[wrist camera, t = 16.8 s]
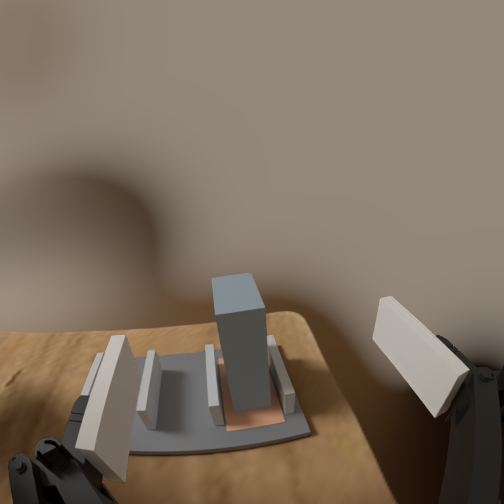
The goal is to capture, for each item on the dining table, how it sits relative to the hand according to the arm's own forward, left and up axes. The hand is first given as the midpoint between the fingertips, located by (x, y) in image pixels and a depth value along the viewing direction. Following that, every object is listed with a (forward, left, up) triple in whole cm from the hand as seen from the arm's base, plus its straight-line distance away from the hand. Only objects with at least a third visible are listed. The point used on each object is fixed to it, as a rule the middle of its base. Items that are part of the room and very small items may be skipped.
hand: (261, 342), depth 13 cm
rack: (-8, +12, -17) cm, 22 cm away
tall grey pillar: (0, +12, -16) cm, 20 cm away
